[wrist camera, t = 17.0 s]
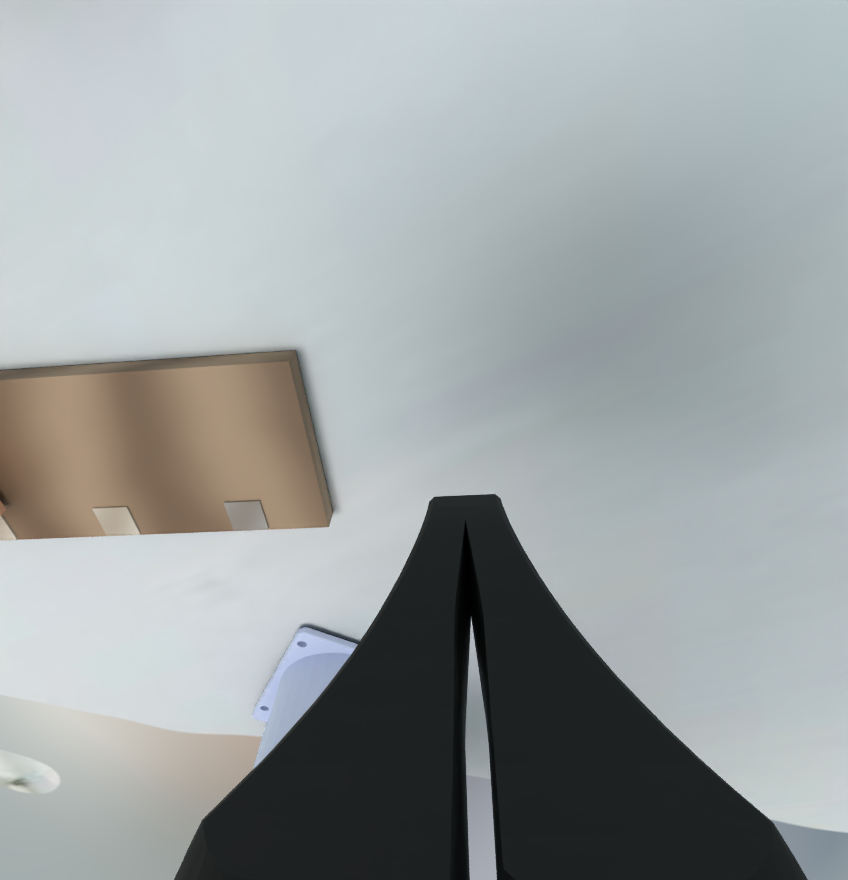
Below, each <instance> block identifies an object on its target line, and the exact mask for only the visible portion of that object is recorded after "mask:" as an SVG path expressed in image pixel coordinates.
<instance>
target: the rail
mask: <svg viewBox="0 0 848 880" xmlns="http://www.w3.org/2000/svg"><path fill="white" fill-rule="evenodd" d="M0 501H1V502H2V504H3V505H4V507H5V508H6V511H5V512H4V513H3V514H2V515H1V516H0V540H20V539H44V538H69V537H94V536H119V535H144V534H168V533H193V532H218V531H243V530H268V529H292V528H317V527H329V524H330V521H331V517H332V514H333V511H332V506H331V502H330V498H329V493H328V489H327V485H326V480H325V476H324V472H323V468H322V463H321V459H320V455H319V450H318V446H317V442H316V437H315V433H314V429H313V424H312V420H311V416H310V411H309V407H308V403H307V398H306V394H305V390H304V386H303V381H302V377H301V373H300V368H299V364H298V360H297V355H296V351H295V350H293V351H279V352H264V353H249V354H234V355H219V356H204V357H190V358H175V359H160V360H145V361H130V362H116V363H101V364H86V365H71V366H56V367H42V368H27V369H12V370H0Z"/></svg>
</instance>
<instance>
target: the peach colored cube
mask: <svg viewBox="0 0 848 880" xmlns="http://www.w3.org/2000/svg"><path fill="white" fill-rule="evenodd" d="M5 511H6V508H5V507H4V505H3V504H2V502H1V501H0V516H1V515H2V514H3V513H4V512H5Z"/></svg>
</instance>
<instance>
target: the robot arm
mask: <svg viewBox="0 0 848 880" xmlns="http://www.w3.org/2000/svg"><path fill="white" fill-rule="evenodd" d="M471 618H472V625H473V632H474V639H475V646H476V653H477V660H478V667H479V674H480V681H481V688H482V694H483V701H484V708H485V715H486V723H487V732H488V741H489V754H490V771H491V786H492V803H493V819H494V837H495V853H496V870H497V880H807V878H806V876H805V874H804V873H803V871H802V869H801V868H800V866H799V864H798V862H797V861H796V859H795V857H794V855H793V854H792V852H791V851H790V849H789V847H788V846H787V844H786V842H785V841H784V839H783V838H782V836H781V834H780V833H779V831H778V830H777V828H776V827H775V825H774V823H773V822H772V821H771V820H769V819H768V818H767V817H766V816H765V815H764V814H762V813H761V812H760V811H759V810H758V809H757V808H755V807H754V806H753V805H752V804H751V803H750V802H748V801H747V800H746V799H745V798H744V797H742V796H741V795H740V794H739V793H738V792H737V791H735V790H734V789H733V788H732V787H731V786H730V785H729V784H727V783H726V782H725V781H724V780H723V779H722V778H721V777H720V776H718V775H717V774H716V773H715V772H714V771H713V770H712V769H711V768H709V767H708V766H707V765H706V764H705V763H704V762H703V761H702V760H701V759H699V758H698V757H697V756H696V755H695V754H694V753H693V752H692V751H691V750H690V749H689V748H688V747H687V746H686V745H685V744H684V743H683V742H681V741H680V740H679V739H678V738H677V737H676V736H675V735H674V734H673V733H672V732H671V731H670V730H669V729H668V728H667V727H666V726H665V725H664V724H663V723H662V722H661V721H660V720H659V719H658V718H657V717H656V716H655V715H654V714H653V713H652V712H651V711H650V710H649V709H648V708H647V707H646V706H645V705H644V704H643V703H642V702H641V701H640V700H639V699H638V698H637V697H636V696H635V694H634V693H633V692H632V691H631V690H630V689H629V688H628V687H627V686H626V685H625V684H624V683H623V682H622V681H621V680H620V679H619V678H618V677H617V676H616V675H615V673H614V672H613V671H612V670H611V669H610V668H609V667H608V665H607V664H606V663H605V662H604V661H603V660H602V658H601V657H600V656H599V655H598V654H597V653H596V652H595V650H594V649H593V648H592V647H591V645H590V644H589V643H588V642H587V641H586V639H585V638H584V637H583V636H582V634H581V633H580V632H579V631H578V629H577V628H576V627H575V626H574V624H573V623H572V622H571V620H570V619H569V618H568V616H567V615H566V614H565V612H564V611H563V610H562V608H561V607H560V605H559V604H558V602H557V601H556V600H555V598H554V597H553V595H552V594H551V592H550V591H549V590H548V588H547V587H546V585H545V584H544V582H543V580H542V579H541V577H540V576H539V574H538V573H537V571H536V569H535V568H534V566H533V564H532V563H531V561H530V559H529V558H528V556H527V554H526V553H525V551H524V549H523V547H522V546H521V544H520V542H519V540H518V538H517V536H516V534H515V532H514V530H513V528H512V526H511V524H510V522H509V520H508V518H507V515H506V513H505V510H504V508H503V505H502V502H501V499H500V498H499V497H498V496H497V495H495V494H488V495H465V496H443V497H434V498H433V499H432V500H431V501H430V502H429V506H428V510H427V513H426V516H425V519H424V522H423V525H422V528H421V530H420V533H419V535H418V537H417V540H416V542H415V545H414V547H413V549H412V551H411V553H410V555H409V557H408V559H407V561H406V564H405V566H404V568H403V570H402V572H401V574H400V576H399V578H398V580H397V581H396V583H395V585H394V587H393V588H392V590H391V592H390V594H389V596H388V597H387V599H386V601H385V603H384V604H383V606H382V608H381V610H380V611H379V613H378V615H377V616H376V618H375V619H374V621H373V623H372V624H371V626H370V627H369V629H368V630H367V632H366V633H365V635H364V636H363V638H362V639H361V641H360V642H359V644H356V643H353V642H350V641H347V640H344V639H341V638H338V637H335V636H332V635H329V634H326V633H323V632H320V631H317V630H314V629H311V628H307V627H304V628H300V629H299V630H298V631H297V633H296V634H295V636H294V638H293V640H292V642H291V643H290V645H289V647H288V649H287V651H286V652H285V654H284V656H283V658H282V659H281V661H280V663H279V665H278V667H277V668H276V670H275V672H274V674H273V675H272V677H271V679H270V681H269V683H268V684H267V686H266V688H265V690H264V691H263V693H262V695H261V697H260V699H259V700H258V702H257V704H256V706H255V708H254V710H253V713H252V716H253V718H255V719H256V720H259V721H263V722H266V726H265V730H264V733H263V736H262V740H261V743H260V747H259V750H258V753H257V757H256V760H255V764H254V767H253V770H252V771H251V772H250V773H249V774H248V775H247V776H246V777H245V778H244V779H243V780H242V781H241V782H240V783H239V784H238V785H237V786H236V787H235V788H234V789H233V790H232V791H231V792H230V793H229V794H228V795H227V796H226V797H225V798H224V799H223V800H222V801H221V802H220V803H219V804H218V805H217V806H216V807H215V808H214V809H213V810H212V811H211V812H210V813H209V814H208V815H207V816H206V817H205V818H204V819H203V820H202V822H201V824H200V826H199V828H198V830H197V832H196V834H195V836H194V838H193V840H192V842H191V844H190V846H189V848H188V850H187V853H186V855H185V857H184V860H183V862H182V864H181V866H180V868H179V870H178V872H177V874H176V877H175V879H174V880H470V878H469V849H468V820H467V788H466V757H465V723H466V703H467V684H468V664H469V645H470V625H471Z"/></svg>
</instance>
